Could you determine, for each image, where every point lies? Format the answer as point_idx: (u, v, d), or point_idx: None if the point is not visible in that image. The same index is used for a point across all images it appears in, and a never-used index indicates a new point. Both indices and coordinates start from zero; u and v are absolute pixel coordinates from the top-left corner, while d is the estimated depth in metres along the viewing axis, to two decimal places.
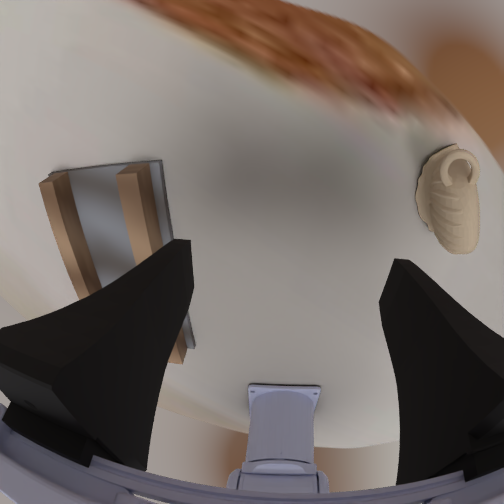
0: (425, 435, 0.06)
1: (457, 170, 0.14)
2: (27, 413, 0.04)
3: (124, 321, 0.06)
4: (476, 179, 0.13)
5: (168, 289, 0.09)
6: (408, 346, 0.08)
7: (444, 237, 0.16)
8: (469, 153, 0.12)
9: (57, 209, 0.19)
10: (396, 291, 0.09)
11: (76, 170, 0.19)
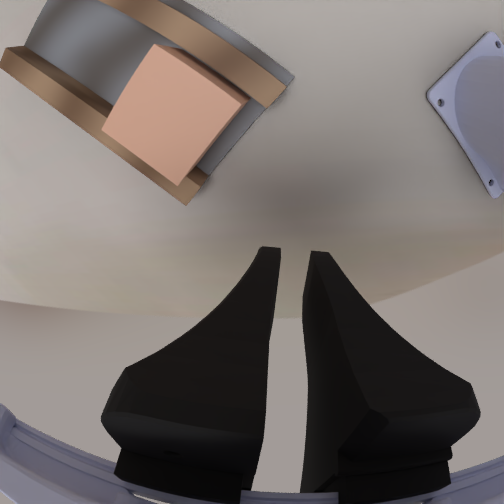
0: (316, 443, 0.06)
1: None
2: (151, 460, 0.04)
3: None
4: None
5: (273, 300, 0.08)
6: (314, 344, 0.08)
7: None
8: None
9: (19, 60, 0.12)
10: (310, 285, 0.10)
11: (29, 36, 0.13)
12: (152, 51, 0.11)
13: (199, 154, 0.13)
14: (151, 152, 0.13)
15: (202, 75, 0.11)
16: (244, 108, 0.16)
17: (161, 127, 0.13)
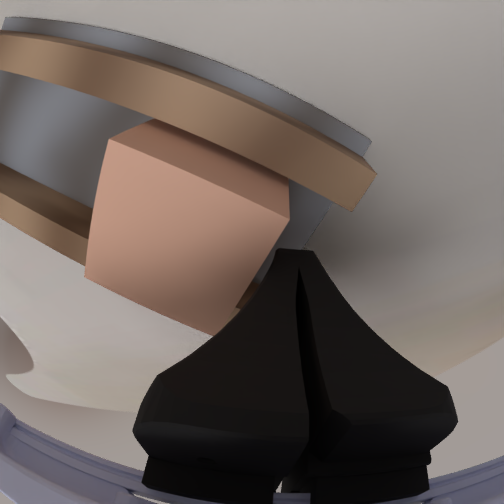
0: None
1: None
2: (180, 467, 0.04)
3: None
4: None
5: None
6: None
7: None
8: None
9: None
10: None
11: None
12: (110, 152, 0.07)
13: (237, 298, 0.09)
14: (165, 302, 0.09)
15: (208, 179, 0.07)
16: (308, 200, 0.11)
17: (168, 270, 0.09)
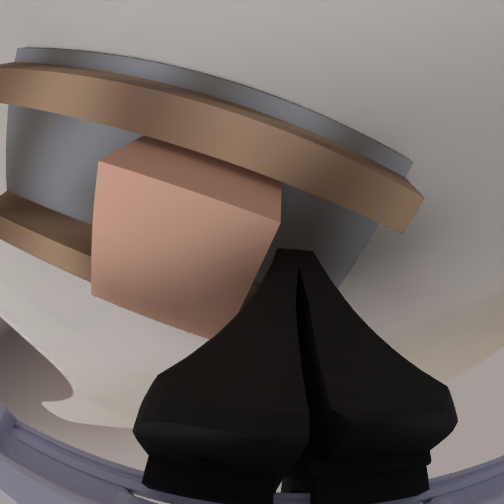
0: None
1: None
2: (180, 467, 0.04)
3: None
4: None
5: None
6: None
7: None
8: None
9: (8, 223, 0.11)
10: None
11: (7, 177, 0.12)
12: (102, 174, 0.07)
13: (239, 304, 0.09)
14: (170, 313, 0.10)
15: (197, 190, 0.07)
16: (357, 221, 0.12)
17: (169, 281, 0.09)
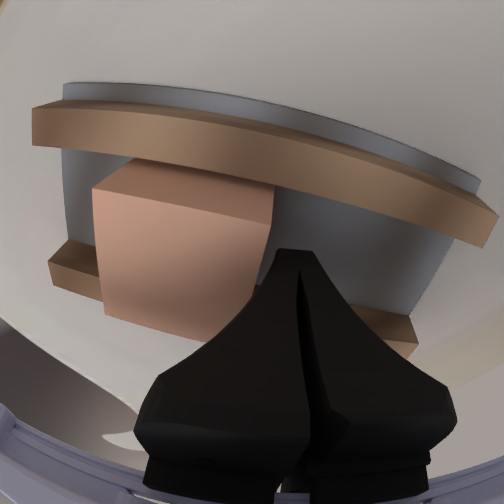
0: None
1: None
2: (181, 467, 0.04)
3: None
4: None
5: None
6: None
7: None
8: None
9: (84, 276, 0.12)
10: None
11: (68, 224, 0.13)
12: (97, 200, 0.08)
13: None
14: (181, 324, 0.10)
15: (186, 205, 0.08)
16: (438, 238, 0.12)
17: (175, 294, 0.09)
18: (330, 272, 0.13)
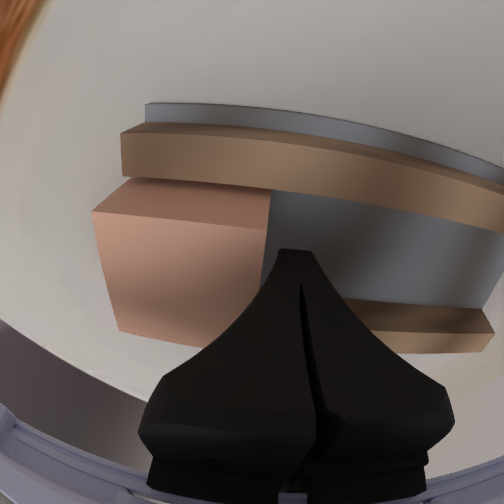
0: None
1: None
2: (185, 468, 0.04)
3: None
4: None
5: None
6: None
7: None
8: None
9: None
10: None
11: None
12: (97, 222, 0.08)
13: None
14: (193, 335, 0.10)
15: (182, 218, 0.08)
16: None
17: (183, 306, 0.09)
18: (424, 280, 0.13)
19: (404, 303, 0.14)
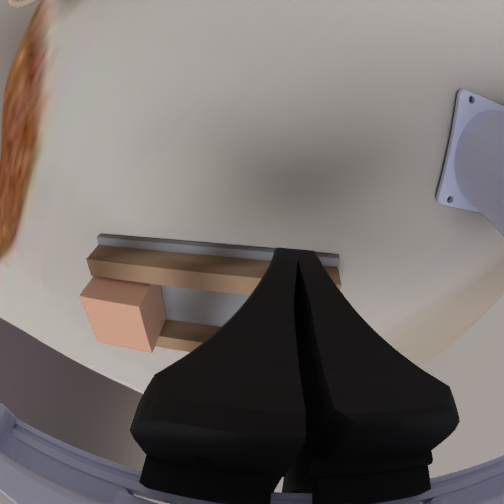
0: None
1: None
2: (178, 467, 0.04)
3: None
4: None
5: None
6: (297, 343, 0.08)
7: None
8: None
9: None
10: None
11: None
12: (82, 299, 0.20)
13: (146, 336, 0.21)
14: (126, 343, 0.22)
15: (111, 300, 0.19)
16: None
17: (119, 331, 0.21)
18: None
19: None
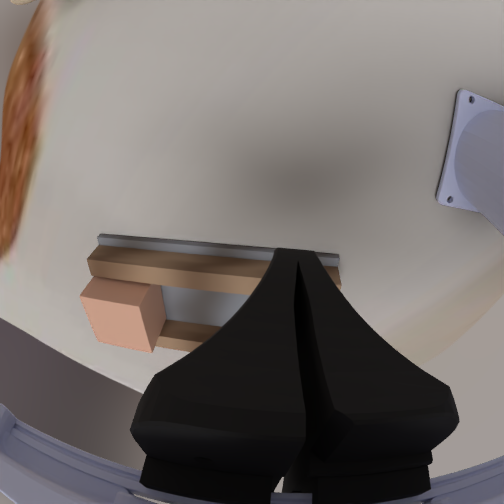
0: None
1: None
2: (178, 467, 0.04)
3: None
4: None
5: None
6: (297, 343, 0.08)
7: None
8: None
9: None
10: None
11: None
12: (82, 299, 0.20)
13: (146, 336, 0.21)
14: (127, 343, 0.22)
15: (111, 300, 0.19)
16: None
17: (120, 331, 0.21)
18: None
19: None
